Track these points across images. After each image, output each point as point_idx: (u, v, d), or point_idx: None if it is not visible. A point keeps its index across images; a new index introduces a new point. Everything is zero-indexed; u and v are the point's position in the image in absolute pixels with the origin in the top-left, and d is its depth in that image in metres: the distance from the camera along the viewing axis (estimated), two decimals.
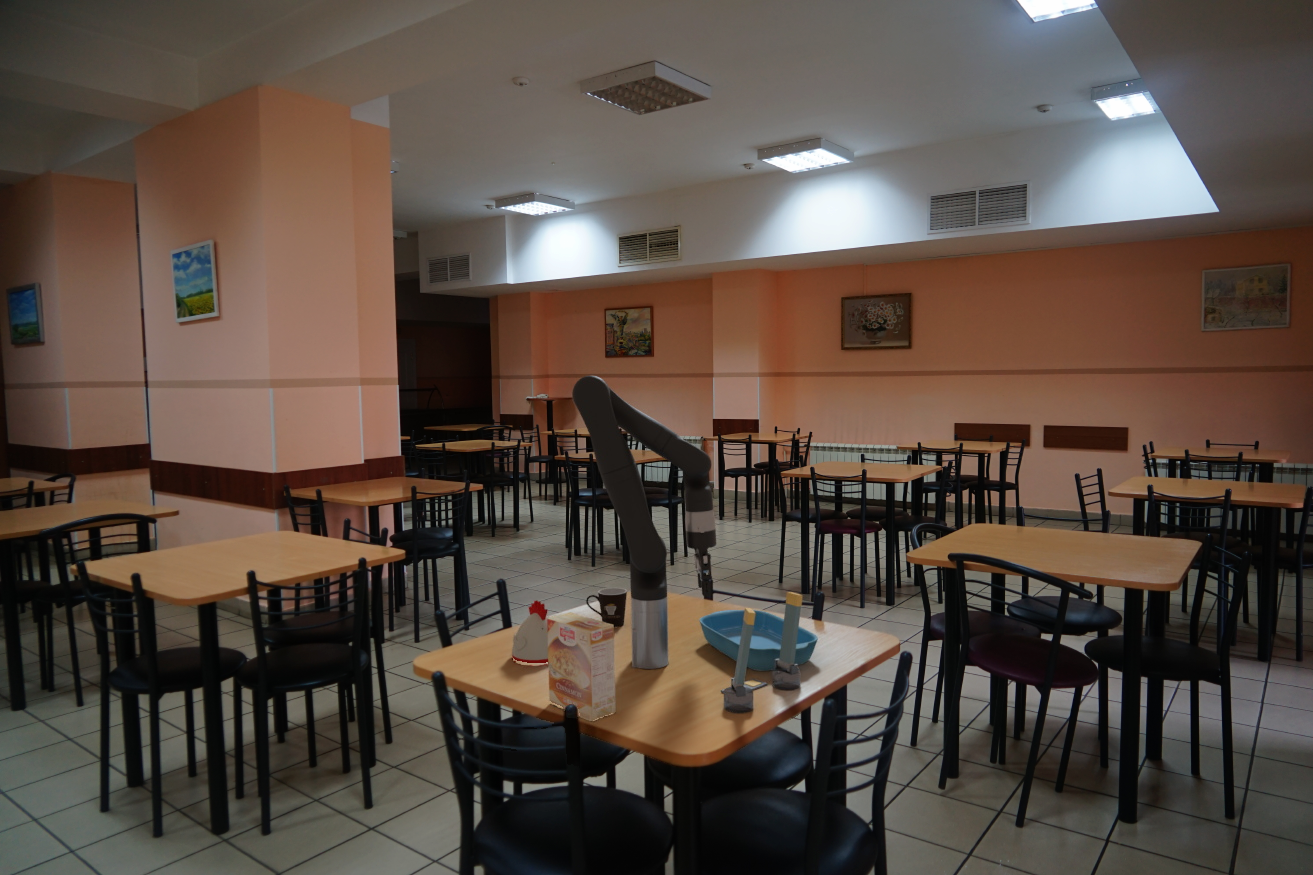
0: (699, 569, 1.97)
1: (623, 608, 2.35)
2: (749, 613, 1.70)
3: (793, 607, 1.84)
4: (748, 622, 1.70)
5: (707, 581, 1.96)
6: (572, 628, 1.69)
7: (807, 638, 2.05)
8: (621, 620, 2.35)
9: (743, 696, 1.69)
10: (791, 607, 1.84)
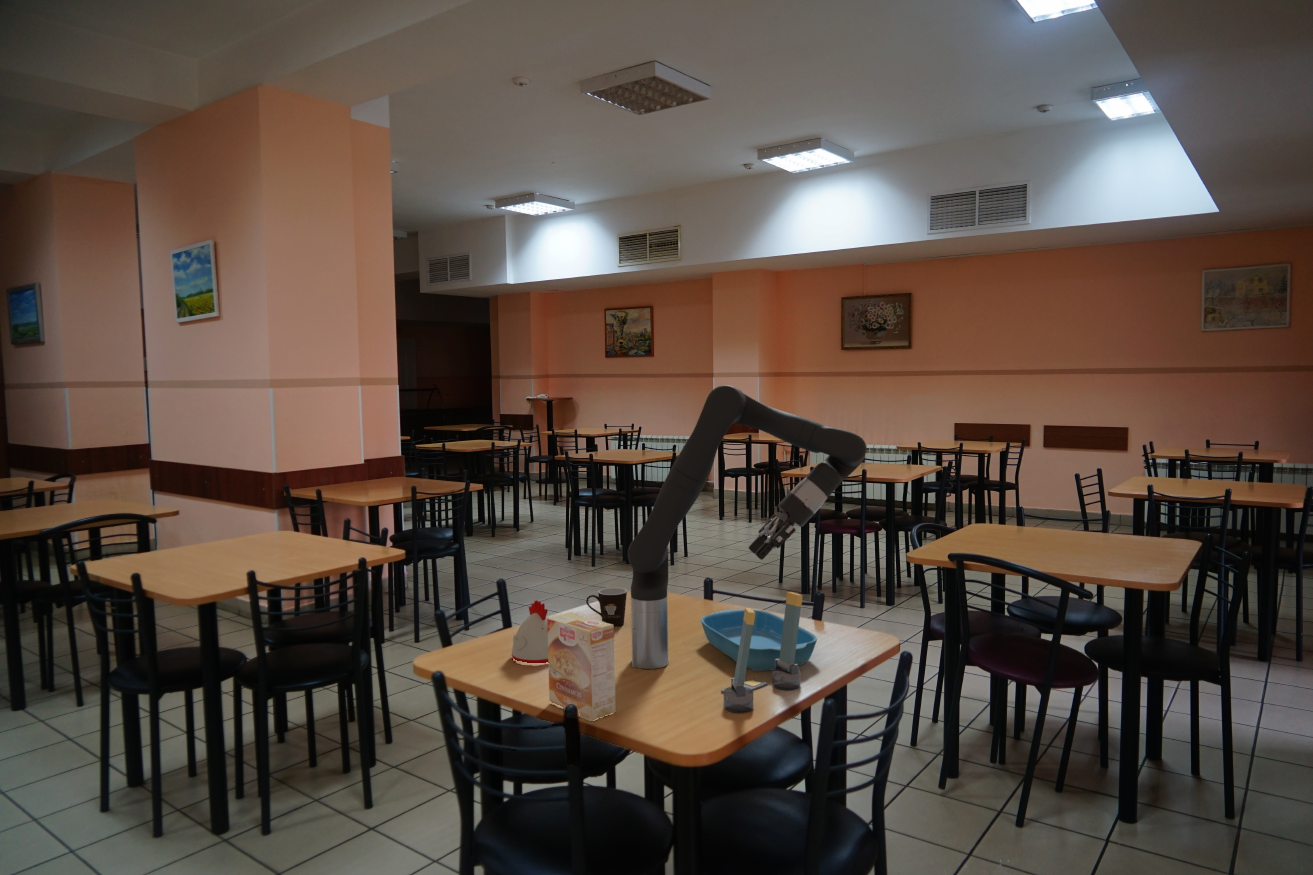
0: (773, 531, 1.82)
1: (623, 608, 2.35)
2: (749, 613, 1.70)
3: (793, 607, 1.84)
4: (748, 622, 1.70)
5: (771, 546, 1.81)
6: (572, 628, 1.69)
7: (807, 638, 2.04)
8: (621, 620, 2.35)
9: (743, 696, 1.69)
10: (791, 607, 1.84)
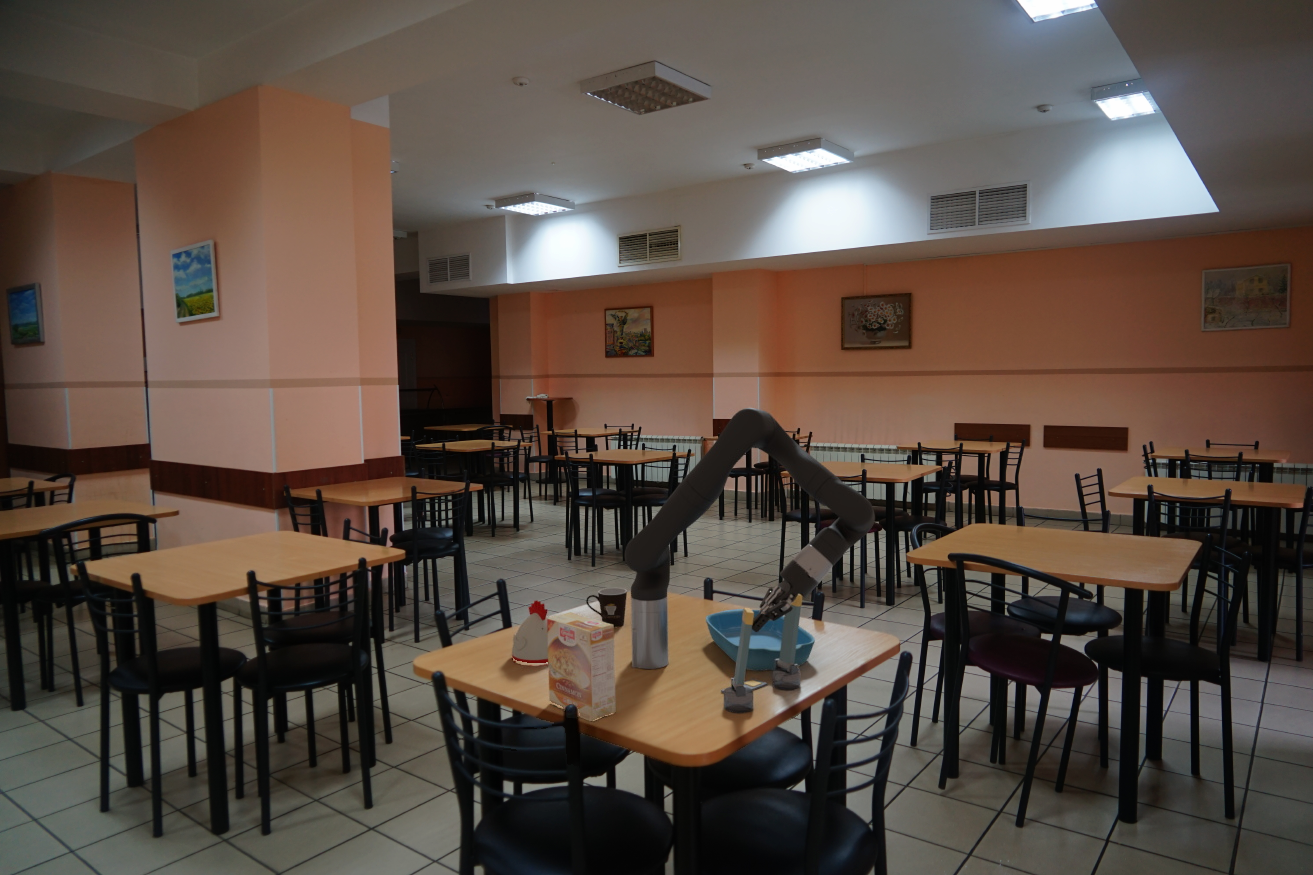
0: (770, 604, 1.70)
1: (623, 608, 2.35)
2: (748, 613, 1.70)
3: (793, 607, 1.84)
4: (747, 622, 1.70)
5: (766, 619, 1.70)
6: (572, 628, 1.68)
7: (807, 640, 2.03)
8: (621, 620, 2.35)
9: (743, 696, 1.69)
10: None
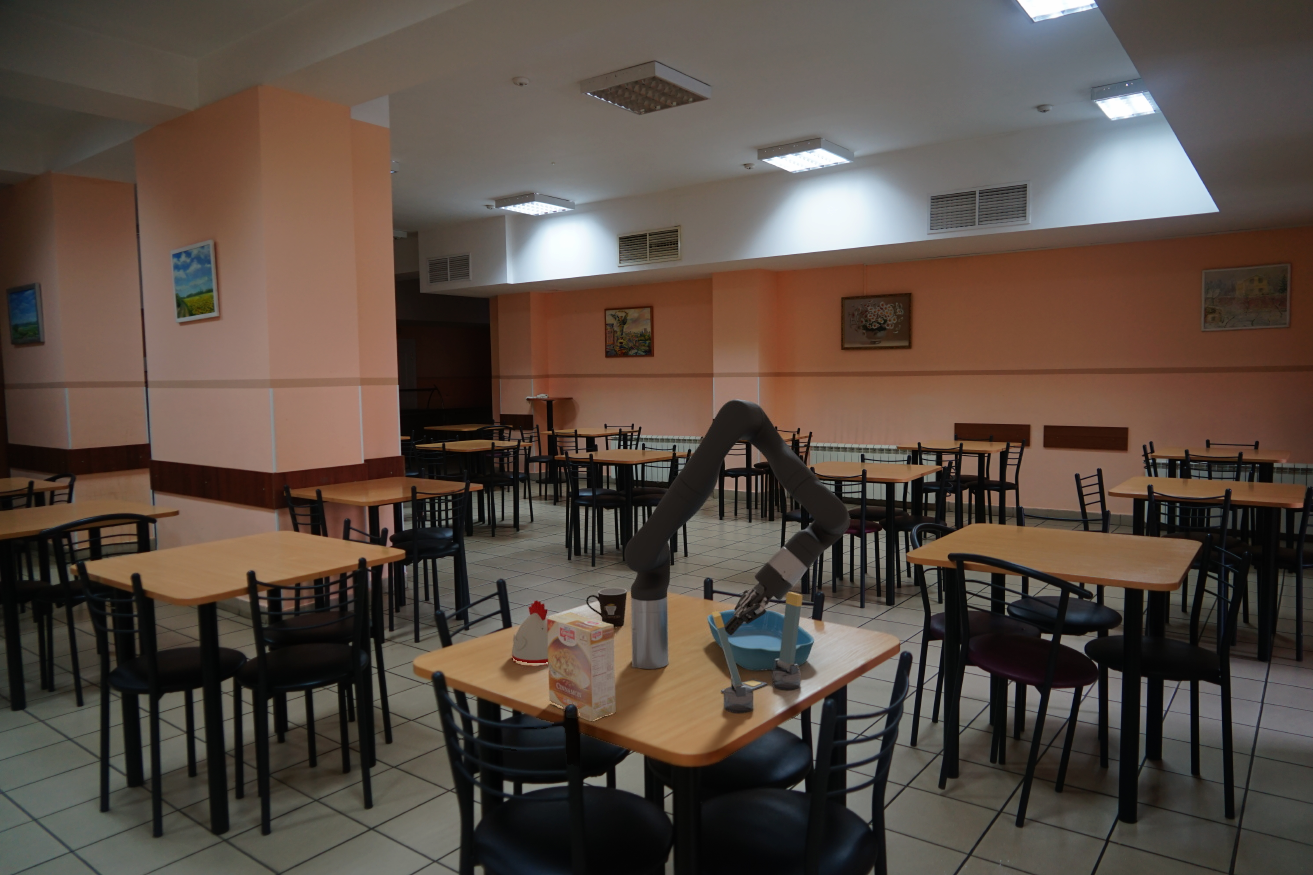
0: (744, 607, 1.70)
1: (623, 608, 2.35)
2: (715, 618, 1.69)
3: (793, 607, 1.84)
4: (718, 626, 1.69)
5: (740, 621, 1.70)
6: (572, 628, 1.69)
7: (807, 640, 2.02)
8: (621, 620, 2.35)
9: (743, 696, 1.69)
10: (791, 607, 1.84)
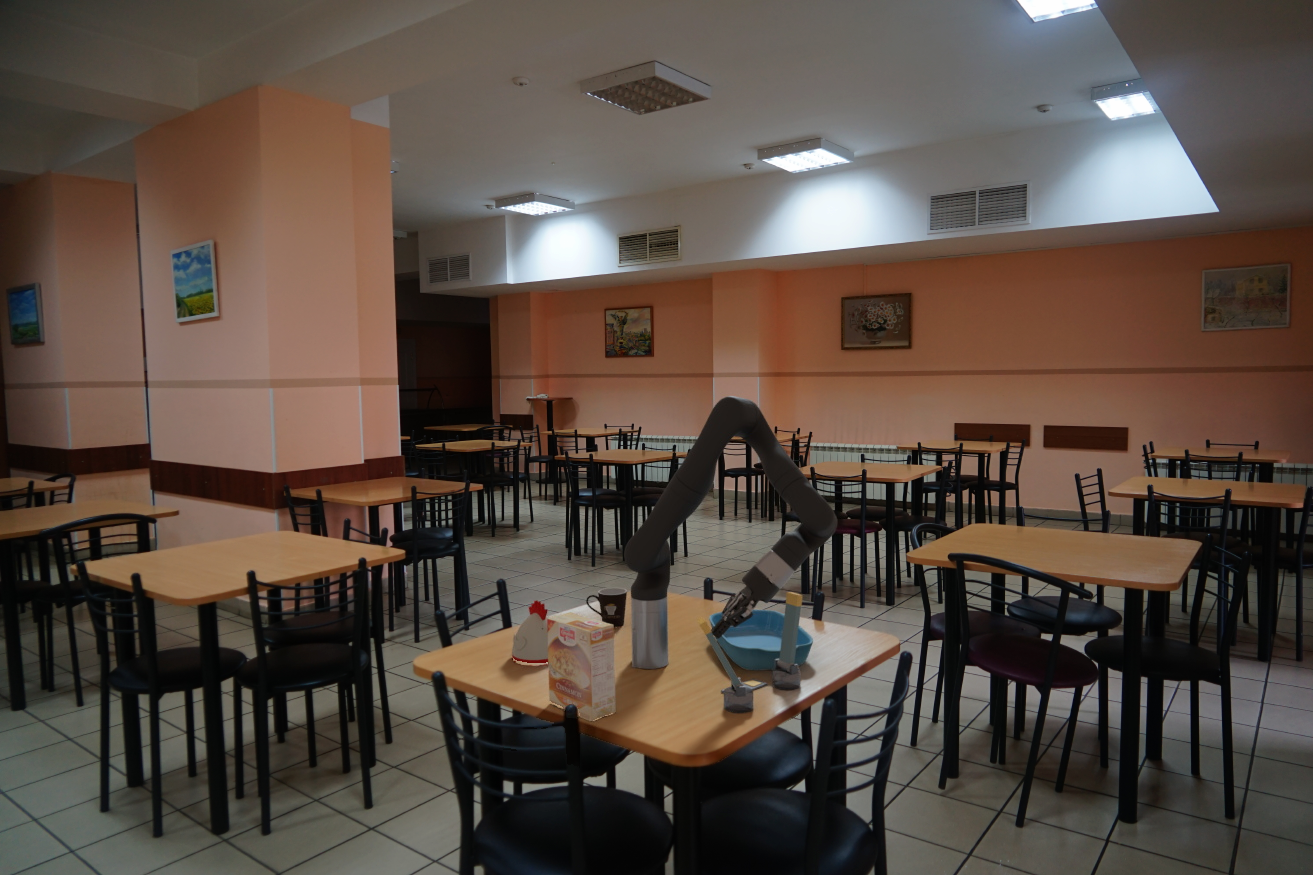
0: (731, 610, 1.69)
1: (623, 608, 2.35)
2: (700, 625, 1.69)
3: (793, 607, 1.84)
4: (705, 632, 1.69)
5: (728, 625, 1.70)
6: (572, 628, 1.69)
7: (806, 641, 2.02)
8: (621, 620, 2.35)
9: (743, 696, 1.69)
10: (791, 607, 1.84)
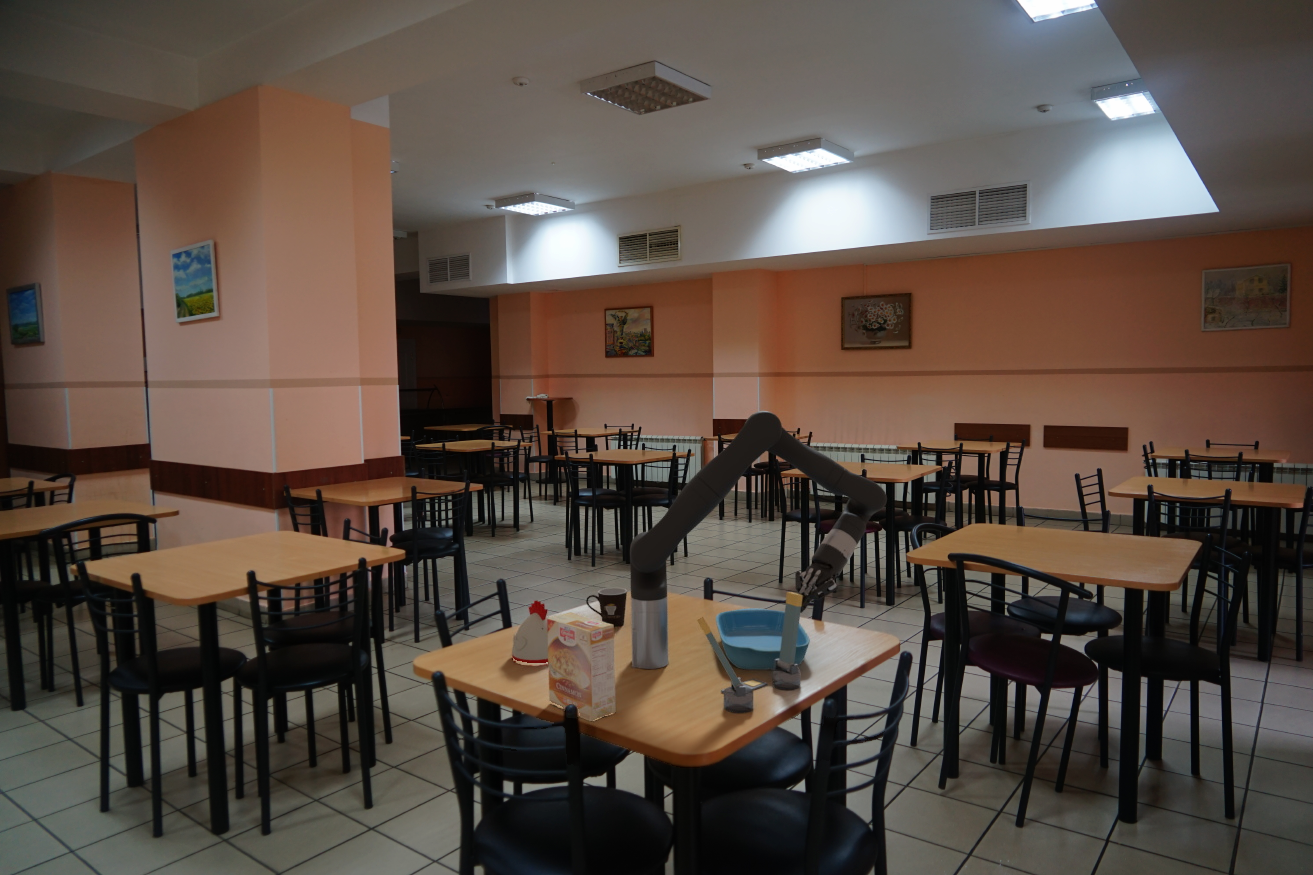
0: (813, 585, 1.86)
1: (623, 608, 2.35)
2: (700, 625, 1.69)
3: (793, 607, 1.84)
4: (705, 632, 1.69)
5: (810, 599, 1.86)
6: (572, 628, 1.69)
7: (804, 643, 2.00)
8: (621, 620, 2.35)
9: (743, 696, 1.69)
10: (791, 607, 1.84)
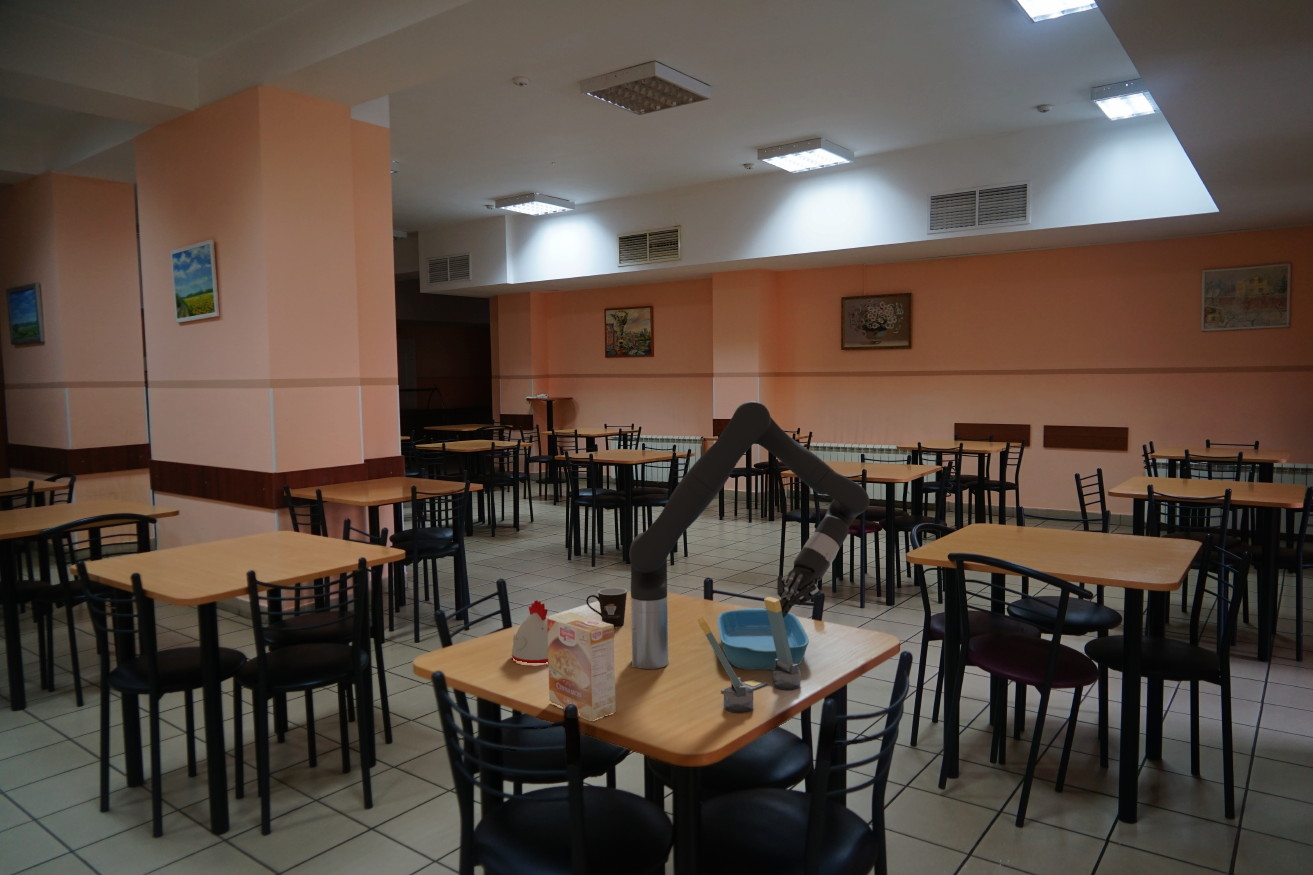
0: (794, 590, 1.83)
1: (623, 608, 2.35)
2: (700, 625, 1.69)
3: (774, 613, 1.81)
4: (705, 632, 1.69)
5: (792, 604, 1.83)
6: (572, 628, 1.69)
7: (804, 644, 2.00)
8: (621, 620, 2.35)
9: (743, 696, 1.69)
10: (772, 613, 1.81)
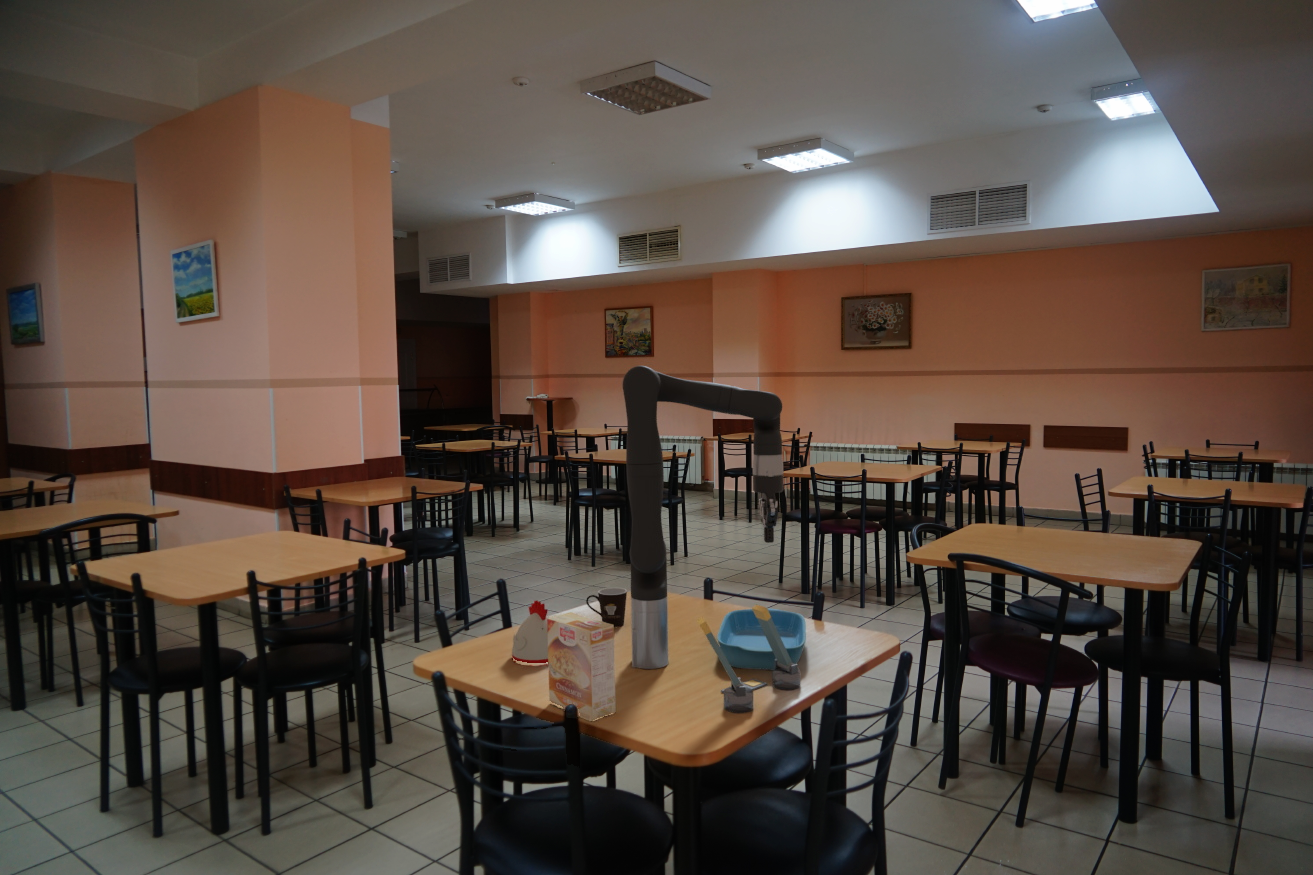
0: (764, 517, 1.96)
1: (623, 608, 2.35)
2: (700, 625, 1.69)
3: (764, 621, 1.79)
4: (705, 632, 1.69)
5: (771, 528, 1.96)
6: (572, 628, 1.68)
7: None
8: (621, 620, 2.35)
9: (743, 696, 1.69)
10: (763, 621, 1.80)
